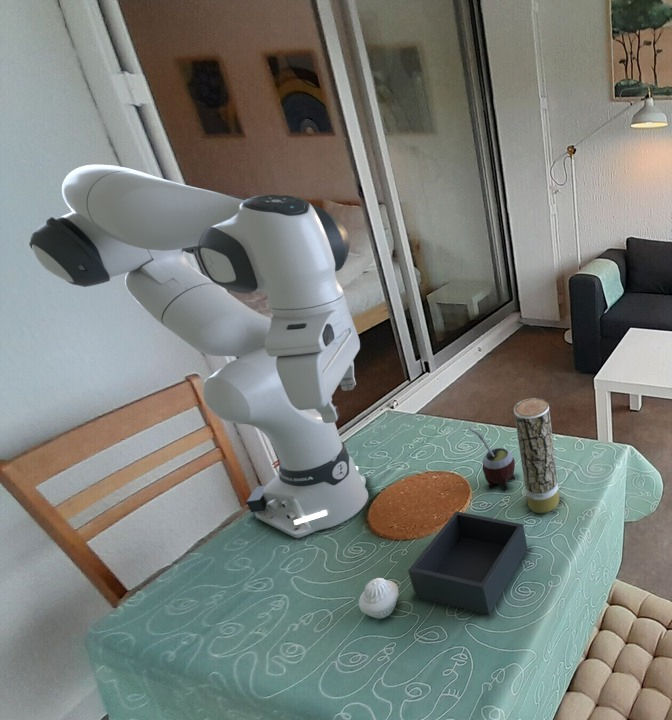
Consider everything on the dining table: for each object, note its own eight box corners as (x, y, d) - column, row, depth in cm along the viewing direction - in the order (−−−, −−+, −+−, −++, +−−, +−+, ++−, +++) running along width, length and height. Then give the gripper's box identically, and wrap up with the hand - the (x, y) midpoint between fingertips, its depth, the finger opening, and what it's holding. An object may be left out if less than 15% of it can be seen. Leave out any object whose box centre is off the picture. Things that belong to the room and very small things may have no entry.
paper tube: (553, 517, 106) (541, 418, 95) (523, 512, 107) (507, 414, 96) (563, 495, 112) (553, 399, 101) (535, 491, 113) (522, 396, 102)
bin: (415, 597, 89) (407, 570, 86) (462, 536, 102) (456, 511, 98) (489, 615, 86) (483, 587, 82) (527, 550, 98) (523, 524, 95)
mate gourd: (521, 484, 115) (513, 430, 109) (488, 498, 111) (477, 443, 105) (509, 468, 121) (501, 415, 114) (477, 480, 117) (466, 427, 110)
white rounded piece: (386, 590, 90) (377, 562, 87) (410, 603, 88) (401, 575, 85) (356, 618, 85) (344, 590, 82) (380, 632, 83) (370, 604, 80)
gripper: (313, 296, 78) (337, 374, 84) (257, 351, 60) (294, 445, 66) (357, 292, 79) (378, 370, 85) (315, 345, 61) (346, 438, 68)
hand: (341, 403), depth 76 cm, fingers open, 8 cm apart
